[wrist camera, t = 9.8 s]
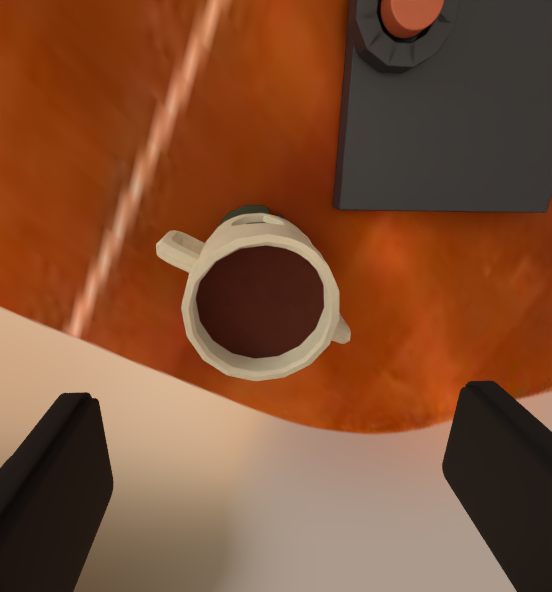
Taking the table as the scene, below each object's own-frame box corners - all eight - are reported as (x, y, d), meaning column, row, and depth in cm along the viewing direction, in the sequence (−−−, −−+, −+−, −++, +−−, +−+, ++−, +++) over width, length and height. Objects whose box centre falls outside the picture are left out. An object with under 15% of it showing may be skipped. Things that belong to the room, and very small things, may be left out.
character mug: (336, 237, 28) (407, 299, 16) (291, 311, 30) (324, 416, 18) (209, 166, 25) (179, 175, 13) (169, 252, 27) (110, 329, 15)
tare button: (376, 37, 21) (387, 28, 19) (383, -28, 19) (395, -43, 18) (426, 40, 21) (440, 32, 19) (436, -24, 20) (451, -38, 18)
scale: (326, 206, 27) (338, 213, 24) (345, -35, 22) (363, -69, 18) (528, 209, 28) (564, 216, 25) (590, -16, 23) (647, -44, 20)
